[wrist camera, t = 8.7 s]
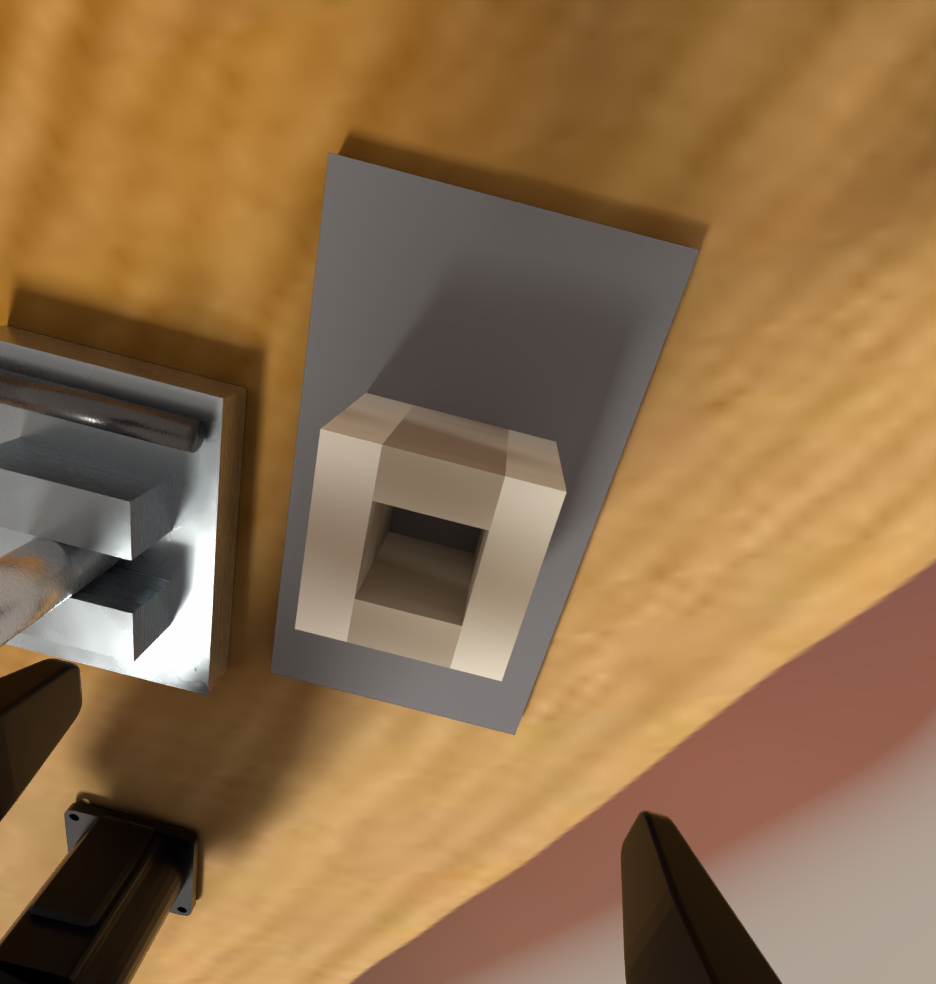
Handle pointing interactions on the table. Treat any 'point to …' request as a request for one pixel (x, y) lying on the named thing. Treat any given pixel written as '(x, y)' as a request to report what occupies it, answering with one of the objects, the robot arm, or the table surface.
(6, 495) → the vise
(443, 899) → the table surface
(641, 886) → the robot arm
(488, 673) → the collar
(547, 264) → the charcoal mat
